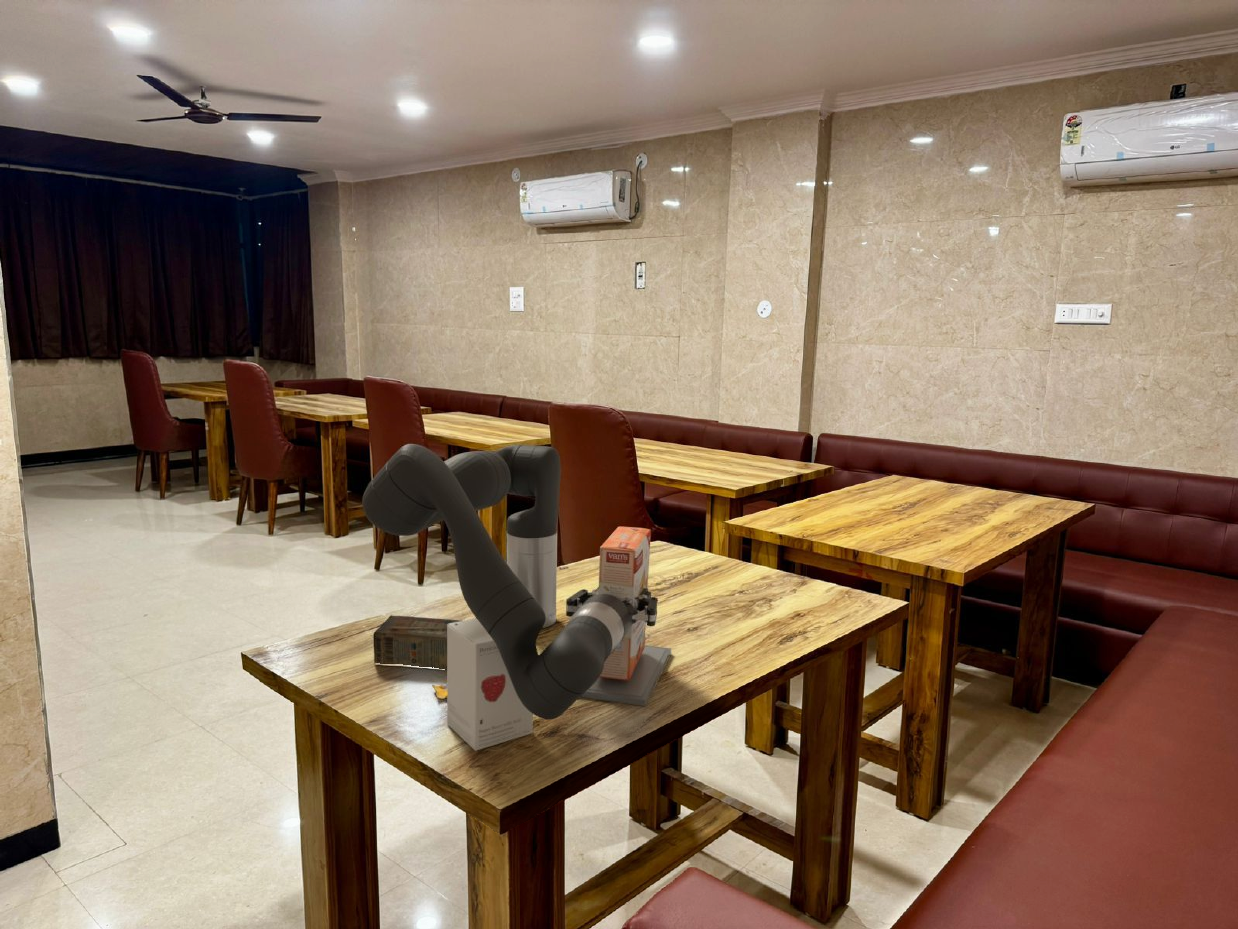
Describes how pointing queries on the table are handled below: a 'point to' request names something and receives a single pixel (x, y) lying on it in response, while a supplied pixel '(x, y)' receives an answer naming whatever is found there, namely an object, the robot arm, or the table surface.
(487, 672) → the supplement box
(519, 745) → the table surface
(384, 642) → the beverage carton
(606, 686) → the slate board
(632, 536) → the cracker box
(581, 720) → the table surface
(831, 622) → the table surface
